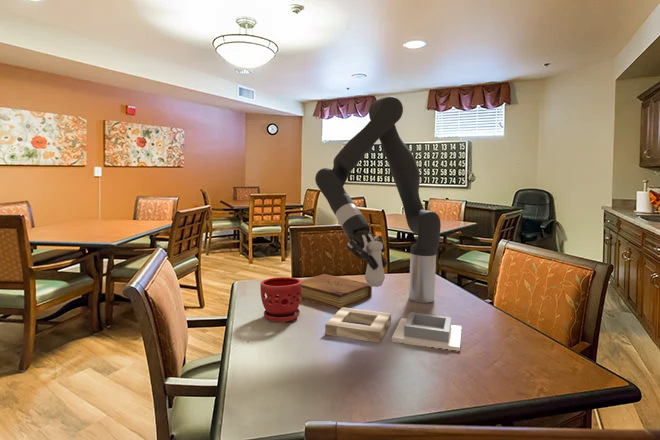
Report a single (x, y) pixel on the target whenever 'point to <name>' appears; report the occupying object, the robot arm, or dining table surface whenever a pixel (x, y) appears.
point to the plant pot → (281, 298)
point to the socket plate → (428, 331)
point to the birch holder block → (356, 331)
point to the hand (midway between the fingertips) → (380, 267)
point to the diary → (335, 291)
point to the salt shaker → (377, 275)
